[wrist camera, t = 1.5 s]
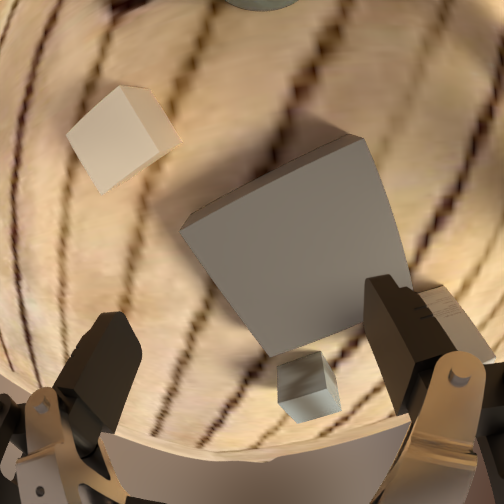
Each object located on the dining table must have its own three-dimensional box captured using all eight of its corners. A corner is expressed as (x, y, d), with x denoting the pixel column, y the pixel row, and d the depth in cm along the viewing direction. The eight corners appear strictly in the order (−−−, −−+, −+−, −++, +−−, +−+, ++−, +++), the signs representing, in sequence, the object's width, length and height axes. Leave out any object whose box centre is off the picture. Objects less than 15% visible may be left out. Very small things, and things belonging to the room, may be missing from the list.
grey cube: (320, 350, 34) (326, 388, 29) (335, 375, 36) (341, 410, 31) (277, 365, 35) (277, 403, 30) (295, 388, 38) (297, 423, 32)
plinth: (349, 133, 22) (363, 138, 19) (401, 275, 28) (415, 297, 25) (190, 214, 27) (178, 231, 23) (270, 332, 33) (270, 357, 29)
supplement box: (389, 342, 33) (419, 423, 22) (393, 297, 30) (435, 383, 18) (437, 328, 32) (476, 400, 21) (446, 283, 29) (498, 357, 17)
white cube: (150, 89, 21) (119, 85, 16) (183, 142, 24) (159, 152, 18) (102, 127, 23) (65, 134, 18) (132, 177, 25) (101, 195, 20)
